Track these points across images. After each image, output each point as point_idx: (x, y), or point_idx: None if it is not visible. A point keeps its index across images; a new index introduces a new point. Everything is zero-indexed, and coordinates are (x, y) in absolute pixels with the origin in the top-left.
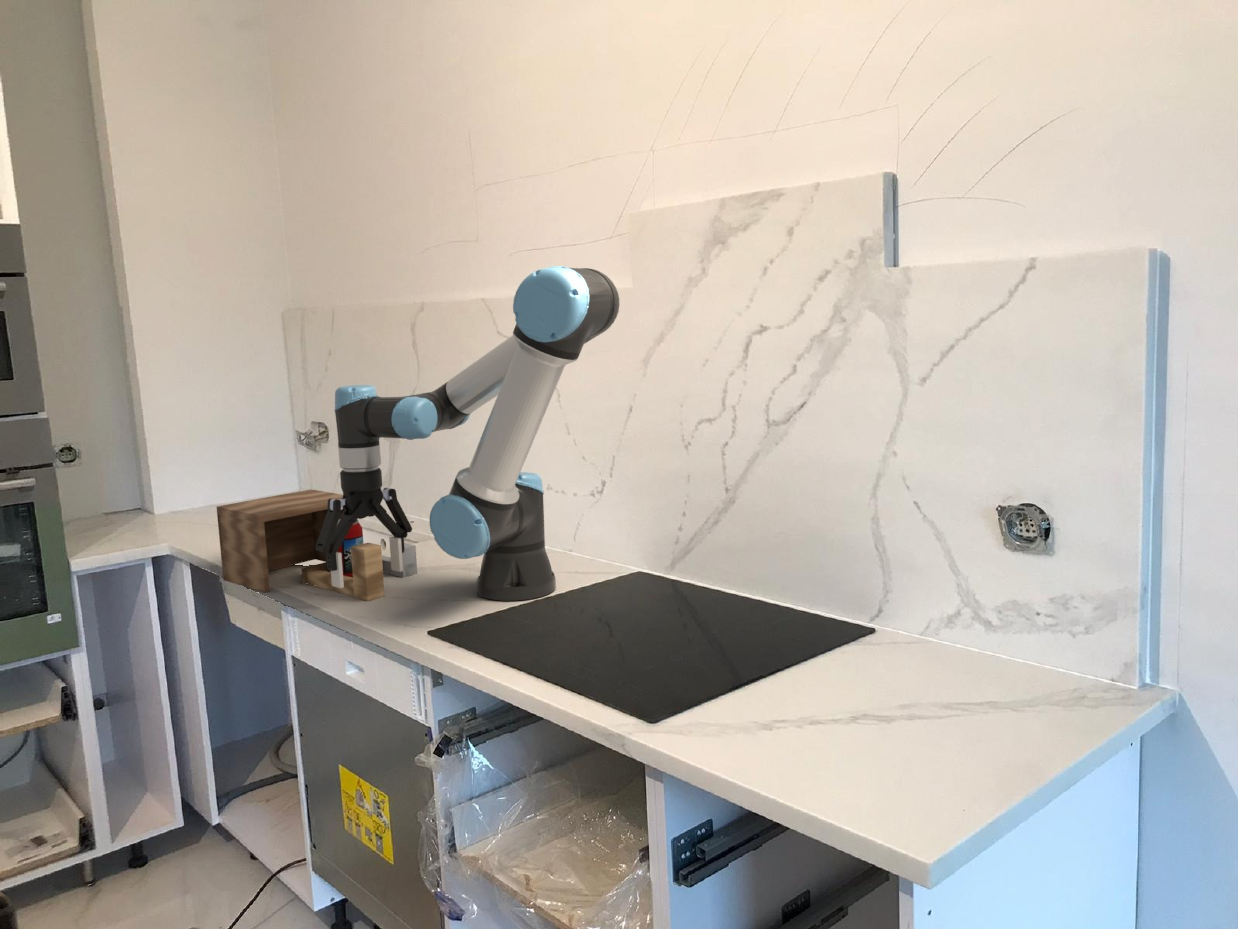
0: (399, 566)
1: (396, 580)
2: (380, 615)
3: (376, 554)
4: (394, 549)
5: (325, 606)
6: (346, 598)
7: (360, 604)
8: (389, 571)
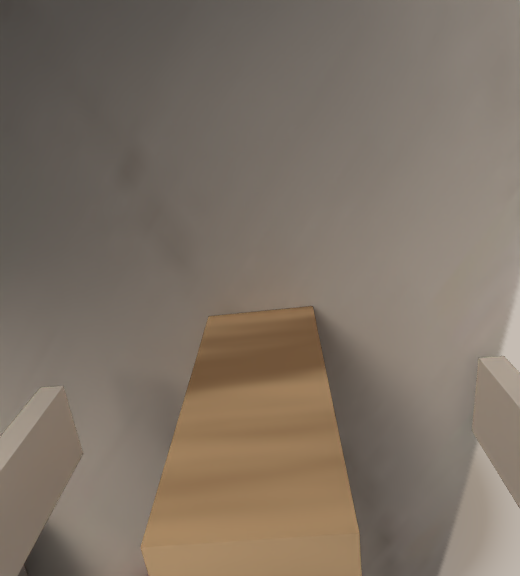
0: (49, 407)
1: None
2: (428, 16)
3: (215, 480)
4: (2, 532)
5: None
6: (346, 414)
7: (365, 289)
8: (20, 574)
